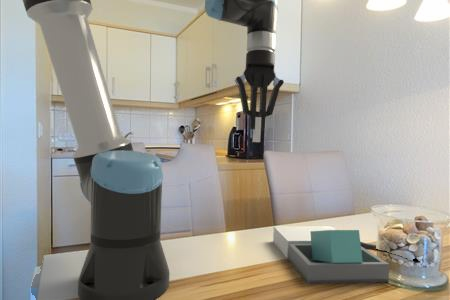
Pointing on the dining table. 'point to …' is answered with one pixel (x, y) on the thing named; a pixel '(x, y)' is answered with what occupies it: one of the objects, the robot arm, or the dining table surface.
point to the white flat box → (294, 235)
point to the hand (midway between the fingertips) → (256, 142)
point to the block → (336, 246)
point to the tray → (337, 267)
